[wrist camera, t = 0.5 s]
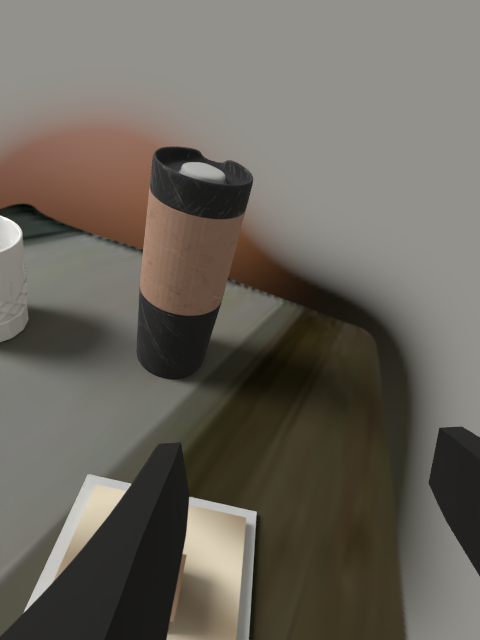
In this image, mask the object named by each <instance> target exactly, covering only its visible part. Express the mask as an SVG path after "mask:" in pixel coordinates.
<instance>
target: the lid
mask: <svg viewBox="0 0 480 640" xmlns="http://www.w3.org/2000/svg"><path fill="white" fill-rule="evenodd" d="M125 493H126V491H125V490H120V489H116V488H111V487H107V486H102V485H98V484H95V487H94V489H93V491H92V494H91V496H90V498H89V500H88V503H87V505H86V507H85V510H84V512H83V514H82V516H81V519H80V521H79V523H78V526H77V528H76V530H75V532H74V535H73V537H72V539H71V542H70V544H69V546H68V548H67V551H66V553H65V555H64V558H63V560H62V562H61V564H60V567H59V569H58V571H57V574H56V576H55V578H54V580H55V579H56V578H57V577H58V576H59V575H60V574H61V573H62V572H63V570H64V569H65V568H66V567H67V566H68V565H69V564H70V562H71V561H72V560H73V559H74V558H75V557H76V555H77V554H78V553H79V552H80V551H81V550H82V548H83V547H84V546H85V545H86V543H87V542H88V541H89V540H90V538H91V537H92V536H93V535H94V533H95V532H96V531H97V530H98V528H99V527H100V526H101V525H102V523H103V522H104V521H105V520H106V518H107V517H108V516H109V514H110V513H111V512H112V510H113V509H114V508H115V506H116V505H117V504H118V502H119V501H120V499H121V498H122V497H123V495H124V494H125ZM245 527H246V517H241V516H237V515H232V514H228V513H223V512H219V511H214V510H210V509H205V508H201V507H196V506H192V505H189V508H188V520H187V531H186V538H185V544H184V549H183V554H182V560H181V565H180V570H179V576H178V581H177V586H176V591H175V596H174V601H173V607H172V612H171V617H170V622H169V628H168V633H167V639H166V640H236V637H237V624H238V612H239V600H240V588H241V576H242V564H243V551H244V539H245ZM54 580H53V582H54Z"/></svg>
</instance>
